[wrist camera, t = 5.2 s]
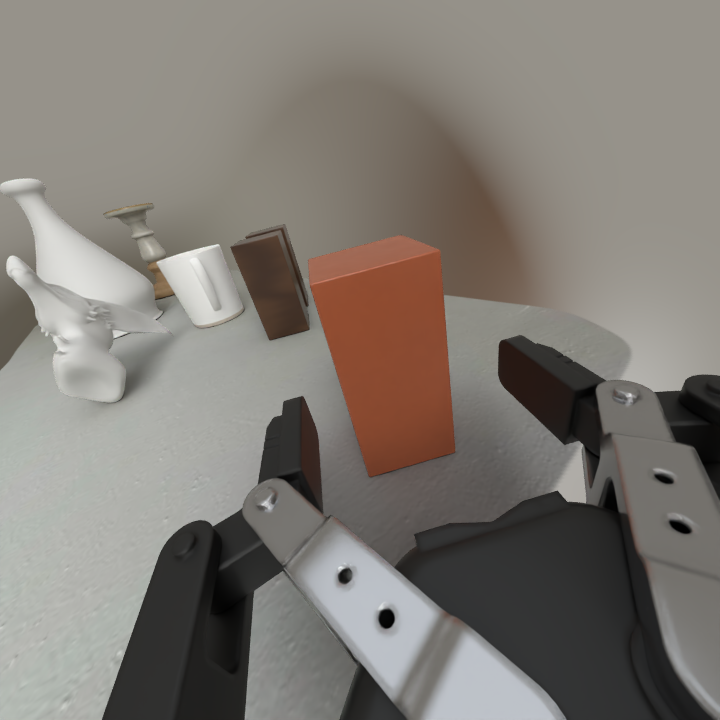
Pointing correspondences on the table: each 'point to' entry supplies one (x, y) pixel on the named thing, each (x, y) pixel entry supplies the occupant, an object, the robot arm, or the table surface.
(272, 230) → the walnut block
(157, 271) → the candle holder
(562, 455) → the table surface
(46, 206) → the vase
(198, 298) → the mug
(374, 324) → the terracotta block
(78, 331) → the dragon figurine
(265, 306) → the walnut block mid
